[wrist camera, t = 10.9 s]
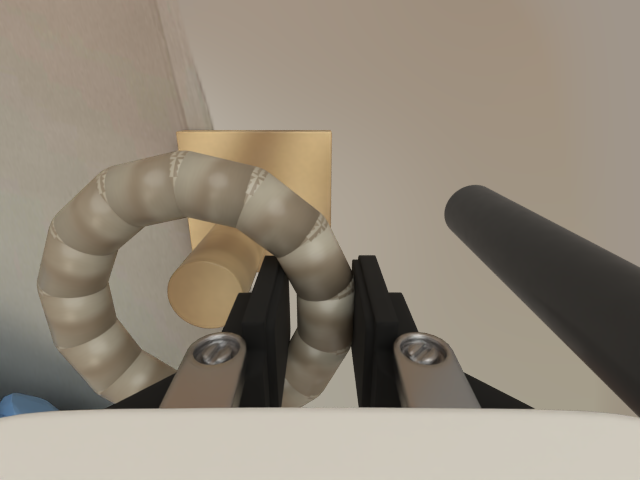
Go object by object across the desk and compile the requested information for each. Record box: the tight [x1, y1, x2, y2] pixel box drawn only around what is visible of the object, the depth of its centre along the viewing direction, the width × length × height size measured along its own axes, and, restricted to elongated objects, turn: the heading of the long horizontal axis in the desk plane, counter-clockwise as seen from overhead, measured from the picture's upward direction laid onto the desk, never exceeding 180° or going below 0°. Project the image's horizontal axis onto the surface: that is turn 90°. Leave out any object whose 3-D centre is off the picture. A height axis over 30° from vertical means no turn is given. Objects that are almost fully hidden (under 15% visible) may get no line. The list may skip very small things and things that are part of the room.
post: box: [168, 130, 332, 328], centre depth 18 cm, size 9×9×12 cm
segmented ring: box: [37, 151, 355, 408], centre depth 11 cm, size 10×10×2 cm
